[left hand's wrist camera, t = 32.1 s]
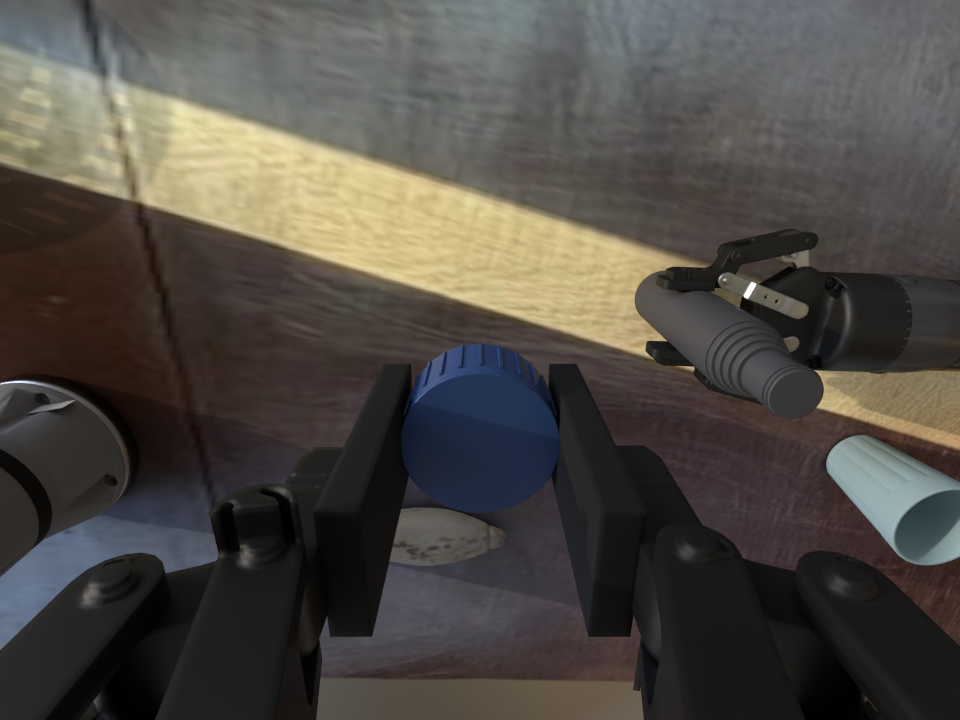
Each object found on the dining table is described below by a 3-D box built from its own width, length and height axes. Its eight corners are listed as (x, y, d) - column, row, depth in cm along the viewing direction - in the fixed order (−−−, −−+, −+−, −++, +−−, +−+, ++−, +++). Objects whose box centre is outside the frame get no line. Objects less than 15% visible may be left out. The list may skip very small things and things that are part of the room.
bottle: (669, 259, 44) (816, 333, 25) (698, 300, 45) (860, 400, 26) (624, 294, 45) (731, 390, 26) (653, 333, 46) (777, 452, 27)
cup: (821, 501, 53) (900, 577, 43) (806, 442, 50) (886, 508, 40) (897, 475, 51) (995, 547, 42) (886, 413, 49) (987, 474, 39)
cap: (470, 493, 16) (469, 541, 14) (378, 399, 14) (362, 437, 12) (579, 417, 15) (595, 457, 13) (490, 311, 14) (492, 337, 12)
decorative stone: (504, 550, 55) (506, 573, 52) (360, 549, 55) (353, 573, 51) (505, 502, 53) (507, 524, 49) (355, 502, 52) (348, 523, 49)
